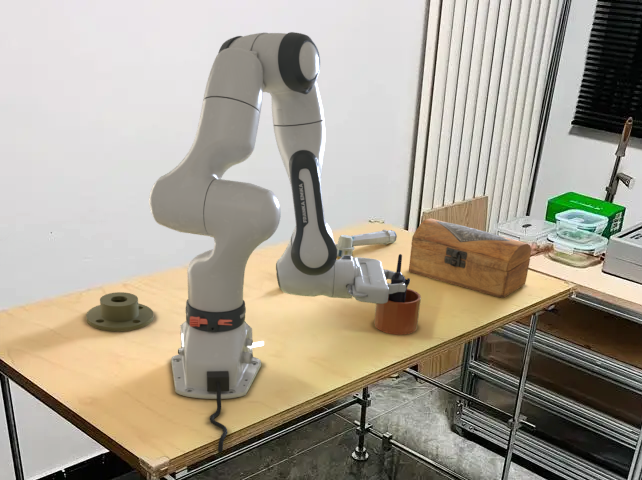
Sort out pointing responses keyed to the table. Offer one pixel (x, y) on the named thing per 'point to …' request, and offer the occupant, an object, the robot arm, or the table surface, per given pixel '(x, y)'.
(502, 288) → the wooden box
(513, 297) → the table surface
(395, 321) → the brown round pot
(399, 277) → the two-way radio
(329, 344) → the table surface
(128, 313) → the flange
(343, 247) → the toothbrush head
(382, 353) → the table surface
